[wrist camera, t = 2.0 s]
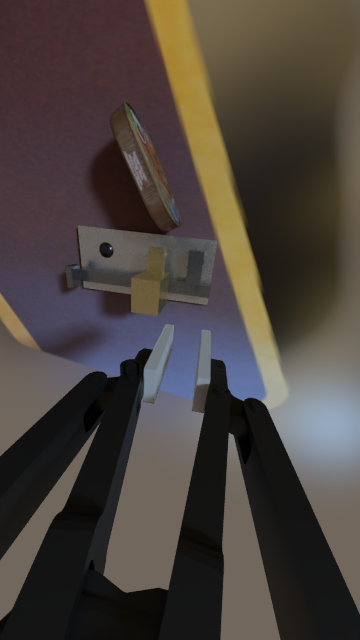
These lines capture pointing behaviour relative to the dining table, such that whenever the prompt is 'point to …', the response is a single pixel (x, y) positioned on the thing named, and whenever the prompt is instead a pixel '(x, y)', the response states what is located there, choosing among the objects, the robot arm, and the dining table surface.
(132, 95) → the dining table surface
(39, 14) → the dining table surface
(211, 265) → the bolt plate
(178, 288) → the grey slide rail base
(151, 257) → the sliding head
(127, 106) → the tin
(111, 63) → the dining table surface
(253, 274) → the dining table surface
